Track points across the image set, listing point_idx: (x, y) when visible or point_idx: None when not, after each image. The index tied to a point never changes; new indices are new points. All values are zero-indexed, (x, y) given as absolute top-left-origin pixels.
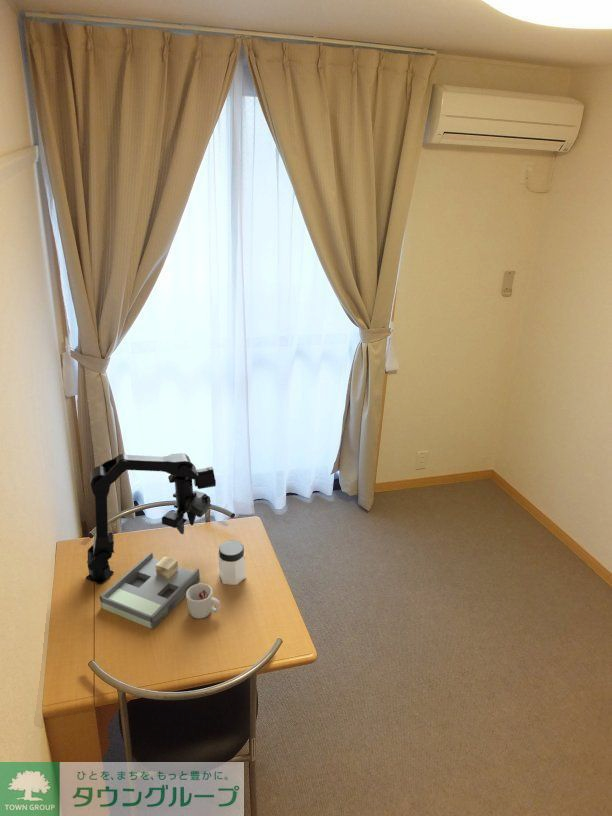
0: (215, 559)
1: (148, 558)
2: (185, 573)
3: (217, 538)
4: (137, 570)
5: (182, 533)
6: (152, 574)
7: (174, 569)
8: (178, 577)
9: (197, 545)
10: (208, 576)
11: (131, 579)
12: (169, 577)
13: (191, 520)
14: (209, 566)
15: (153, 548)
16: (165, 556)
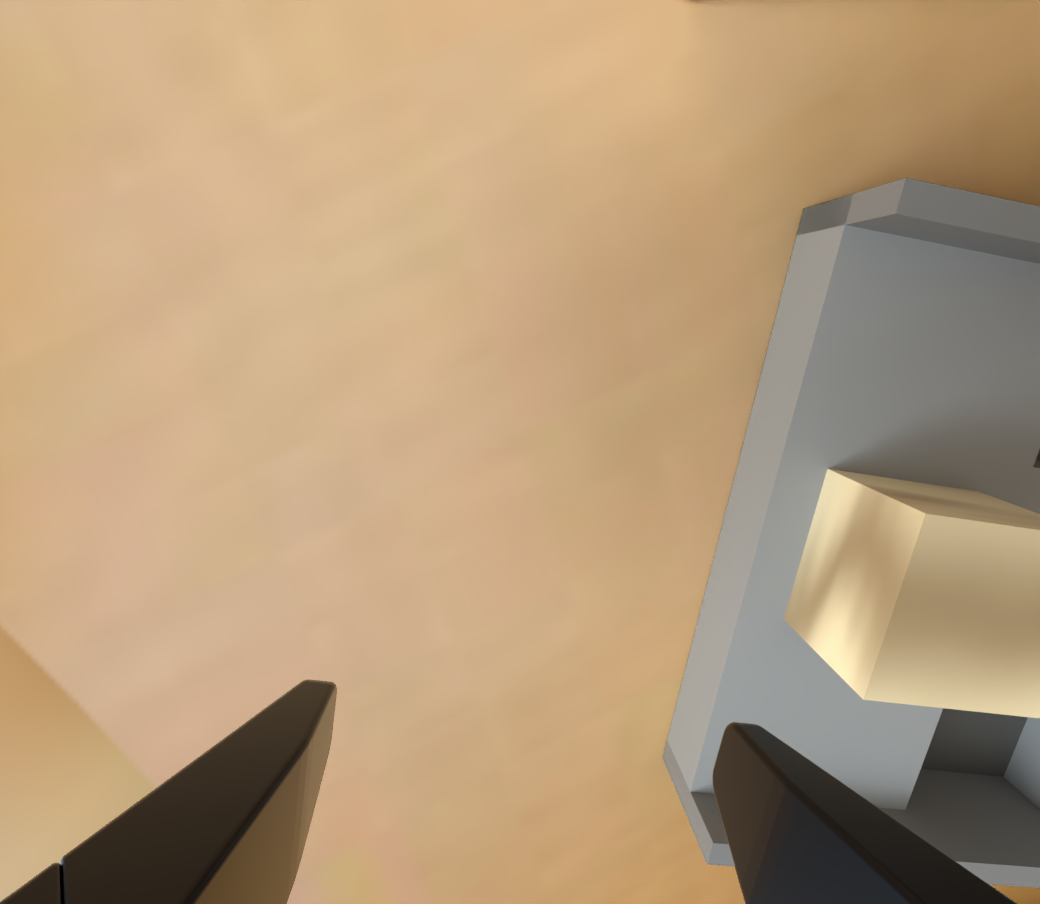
0: (437, 178)
1: None
2: (870, 363)
3: (55, 323)
4: (907, 816)
5: (771, 748)
6: None
7: (919, 493)
8: (944, 407)
9: (278, 490)
10: (733, 135)
11: (957, 793)
12: (975, 493)
13: (286, 836)
14: (572, 197)
15: (475, 840)
16: (870, 691)
